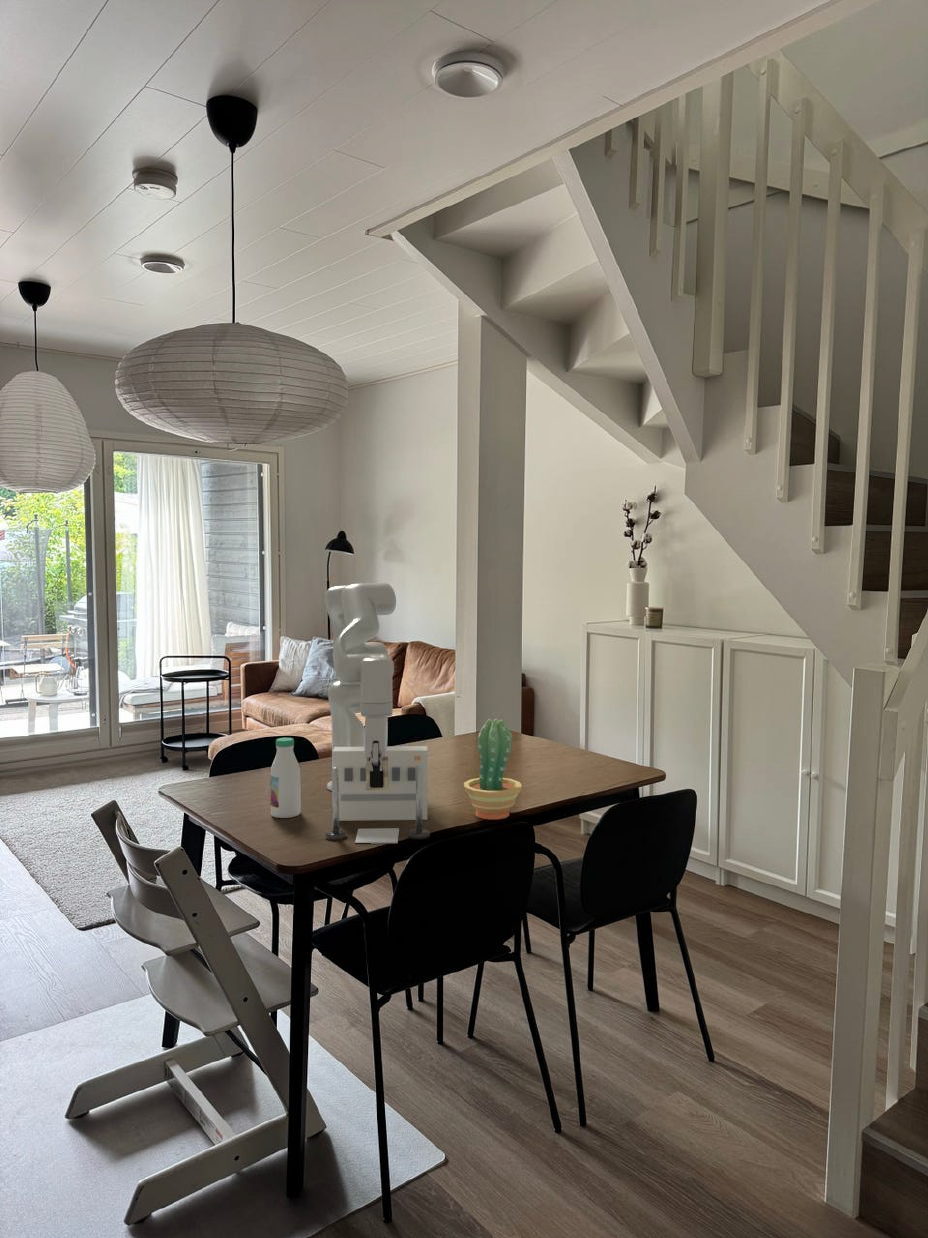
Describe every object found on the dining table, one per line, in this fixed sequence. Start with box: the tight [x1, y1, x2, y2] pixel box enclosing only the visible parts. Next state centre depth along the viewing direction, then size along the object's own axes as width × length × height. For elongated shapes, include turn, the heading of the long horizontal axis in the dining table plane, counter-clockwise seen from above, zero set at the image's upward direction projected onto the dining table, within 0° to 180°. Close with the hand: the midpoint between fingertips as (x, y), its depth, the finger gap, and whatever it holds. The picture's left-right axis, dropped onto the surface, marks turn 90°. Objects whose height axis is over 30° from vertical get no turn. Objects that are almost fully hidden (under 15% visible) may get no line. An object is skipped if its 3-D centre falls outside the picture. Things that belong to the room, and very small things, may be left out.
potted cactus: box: [463, 718, 523, 820], centre depth 224 cm, size 15×15×25 cm
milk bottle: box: [269, 737, 302, 819], centre depth 224 cm, size 8×8×20 cm
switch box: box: [333, 745, 429, 822], centre depth 222 cm, size 6×24×18 cm, turn 92°
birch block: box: [366, 756, 388, 790], centre depth 206 cm, size 5×5×7 cm
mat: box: [354, 827, 400, 845], centre depth 207 cm, size 10×10×1 cm
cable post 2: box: [408, 766, 431, 840], centre depth 207 cm, size 5×5×17 cm
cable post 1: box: [324, 766, 347, 841], centre depth 206 cm, size 5×5×17 cm
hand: (377, 783), depth 206 cm, fingers closed on birch block, 5 cm apart
